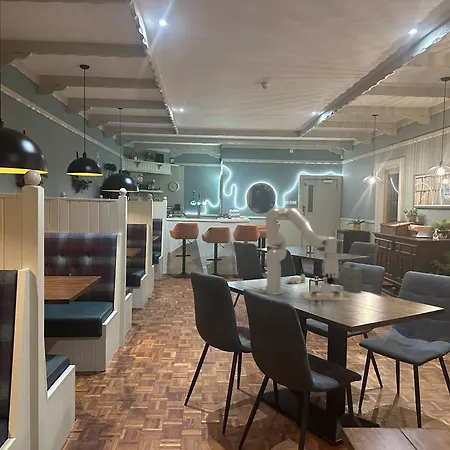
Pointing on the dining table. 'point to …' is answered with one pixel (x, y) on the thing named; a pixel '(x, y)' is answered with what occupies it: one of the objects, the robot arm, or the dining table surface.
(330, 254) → the robot arm
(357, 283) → the flask
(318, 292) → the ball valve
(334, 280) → the valve lever
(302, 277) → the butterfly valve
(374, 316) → the dining table surface
